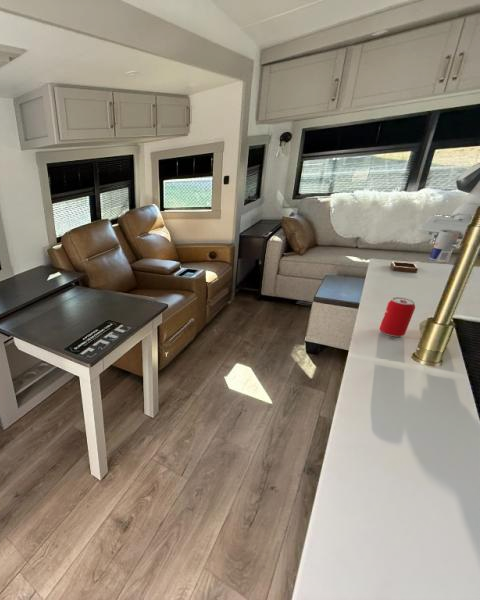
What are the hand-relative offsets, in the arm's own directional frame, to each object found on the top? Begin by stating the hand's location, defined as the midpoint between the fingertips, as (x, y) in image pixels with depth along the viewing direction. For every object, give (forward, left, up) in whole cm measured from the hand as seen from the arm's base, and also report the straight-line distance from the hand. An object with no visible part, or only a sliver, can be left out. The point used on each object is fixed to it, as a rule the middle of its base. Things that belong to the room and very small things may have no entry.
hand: (443, 245), depth 123 cm
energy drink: (0, -1, -7) cm, 7 cm away
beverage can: (+15, +48, -19) cm, 54 cm away
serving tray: (+3, -27, -19) cm, 33 cm away
